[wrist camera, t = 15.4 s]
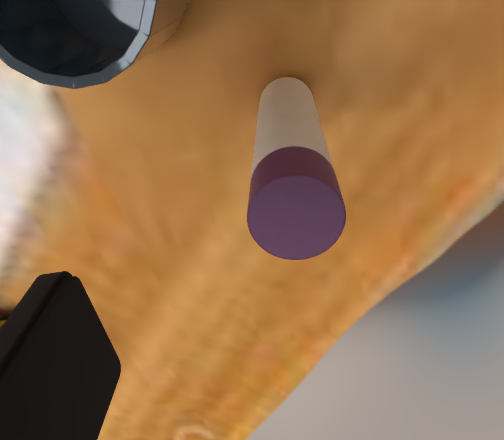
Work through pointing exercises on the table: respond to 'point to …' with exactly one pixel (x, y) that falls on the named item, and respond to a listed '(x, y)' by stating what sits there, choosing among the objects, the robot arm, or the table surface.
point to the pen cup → (83, 37)
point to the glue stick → (292, 176)
